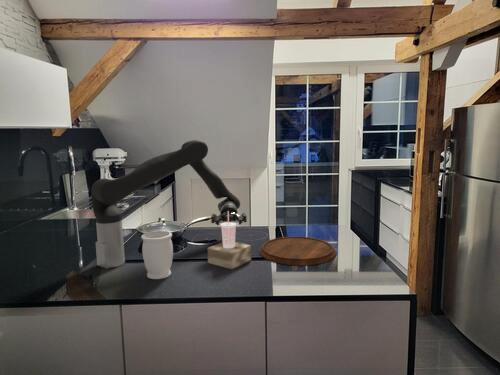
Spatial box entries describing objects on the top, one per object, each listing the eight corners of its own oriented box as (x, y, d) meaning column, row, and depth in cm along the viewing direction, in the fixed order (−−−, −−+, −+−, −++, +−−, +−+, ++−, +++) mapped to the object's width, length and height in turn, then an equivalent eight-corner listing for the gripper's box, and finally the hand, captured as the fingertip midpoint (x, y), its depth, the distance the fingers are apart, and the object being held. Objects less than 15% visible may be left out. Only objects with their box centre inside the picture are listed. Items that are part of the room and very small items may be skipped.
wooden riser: (231, 269, 138) (231, 253, 137) (208, 262, 145) (207, 247, 144) (251, 259, 147) (250, 245, 146) (227, 254, 154) (227, 240, 153)
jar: (158, 283, 126) (156, 240, 124) (137, 277, 132) (134, 236, 129) (180, 272, 135) (178, 232, 133) (159, 267, 140) (157, 229, 138)
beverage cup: (236, 243, 148) (236, 209, 146) (236, 248, 142) (236, 212, 140) (221, 244, 148) (220, 209, 146) (220, 249, 142) (219, 213, 140)
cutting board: (245, 258, 150) (245, 252, 149) (277, 237, 178) (277, 232, 177) (323, 271, 135) (323, 265, 135) (344, 246, 163) (345, 241, 163)
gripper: (212, 205, 161) (210, 213, 145) (245, 204, 161) (247, 212, 145) (212, 222, 162) (211, 232, 146) (245, 221, 163) (247, 231, 147)
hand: (228, 222), depth 146 cm, fingers open, 8 cm apart
